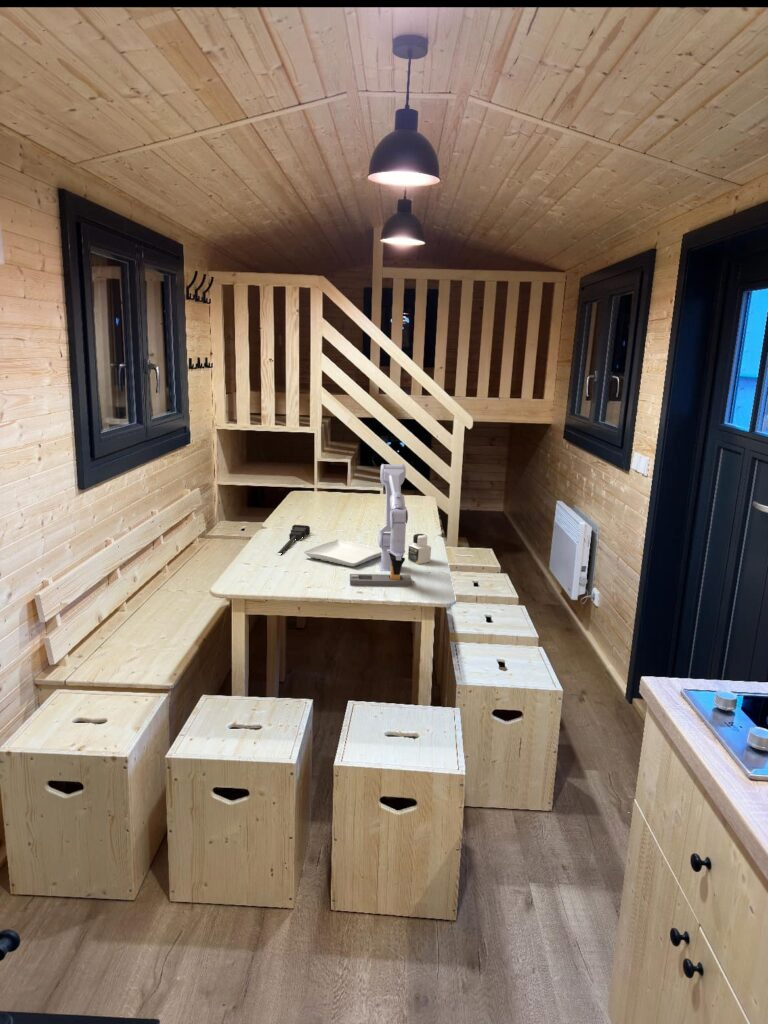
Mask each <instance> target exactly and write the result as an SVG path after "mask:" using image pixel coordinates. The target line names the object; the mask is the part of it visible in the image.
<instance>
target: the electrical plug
mask: <svg viewBox="0 0 768 1024" xmlns="http://www.w3.org/2000/svg"><path fill="white" fill-rule="evenodd" d="M306 534H308V535H306ZM310 534H311V527H310V526H309V525H306V524H305V525H304V524H293V525H292V527H291V529H290V533H289V537H288V538H289V539H290V540H288V541H287V542H286V543H285V545H283V546H282V548H280V549H279V551H278V552H277V553H283V552H284V553H285V552H286V550H287V549H288V548H289V547H290V546H291V545H292V543H294V542H295V541H299V540H300V539H301V538H302V537H303V538H302V539H305V536H309V535H310ZM295 539H296V540H295ZM302 539H301V540H302ZM301 540H300V541H301ZM284 553H283V554H284Z"/></svg>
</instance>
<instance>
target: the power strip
mask: <svg viewBox="0 0 768 1024" xmlns="http://www.w3.org/2000/svg"><path fill="white" fill-rule="evenodd" d="M349 586H351V587H352V586H354V587H355V586H359V587H361V586H363V587H365V586H367V587H368V586H369V587H371V586H372V587H413V578H412V577H411V574H400V580H390V574H380V573H379V574H376V573H375V574H374V573H369V574H368V573H366V574H365V573H349Z"/></svg>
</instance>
